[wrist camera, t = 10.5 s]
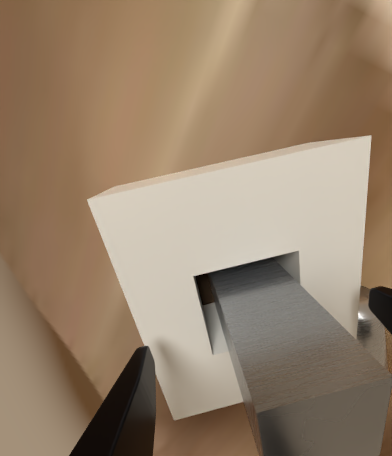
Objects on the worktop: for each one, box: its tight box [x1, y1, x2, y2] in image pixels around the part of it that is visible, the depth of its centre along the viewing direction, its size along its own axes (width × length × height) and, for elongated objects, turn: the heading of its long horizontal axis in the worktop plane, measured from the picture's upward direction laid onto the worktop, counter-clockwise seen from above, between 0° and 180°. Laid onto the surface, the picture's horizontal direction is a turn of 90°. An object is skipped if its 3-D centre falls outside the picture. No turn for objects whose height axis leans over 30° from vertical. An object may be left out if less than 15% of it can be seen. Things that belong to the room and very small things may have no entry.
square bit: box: [207, 257, 392, 456], centre depth 9 cm, size 3×3×8 cm
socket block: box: [87, 135, 371, 420], centre depth 11 cm, size 12×10×4 cm
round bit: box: [356, 286, 388, 370], centre depth 14 cm, size 8×3×3 cm
